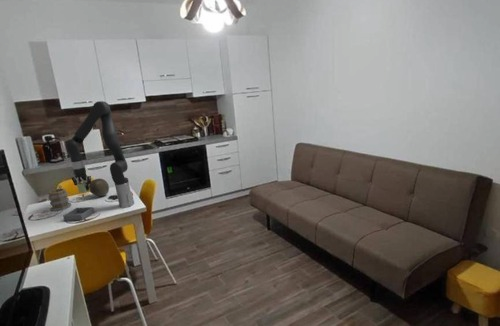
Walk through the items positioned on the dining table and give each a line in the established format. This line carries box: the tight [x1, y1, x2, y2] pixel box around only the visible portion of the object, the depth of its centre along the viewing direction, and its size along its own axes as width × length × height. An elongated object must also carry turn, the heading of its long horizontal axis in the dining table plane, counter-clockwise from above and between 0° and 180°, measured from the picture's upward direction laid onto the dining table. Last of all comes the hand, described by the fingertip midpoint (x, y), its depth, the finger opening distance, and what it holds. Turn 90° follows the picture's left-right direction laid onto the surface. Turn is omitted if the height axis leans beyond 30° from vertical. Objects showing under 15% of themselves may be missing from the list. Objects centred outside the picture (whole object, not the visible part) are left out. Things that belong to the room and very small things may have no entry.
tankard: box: [47, 185, 72, 212], centre depth 231 cm, size 20×13×15 cm, turn 18°
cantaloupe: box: [89, 178, 110, 197], centre depth 246 cm, size 14×14×15 cm
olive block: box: [76, 182, 90, 194], centre depth 213 cm, size 5×5×6 cm
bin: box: [62, 206, 95, 222], centre depth 207 cm, size 13×13×4 cm
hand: (84, 190), depth 214 cm, fingers closed on olive block, 5 cm apart
